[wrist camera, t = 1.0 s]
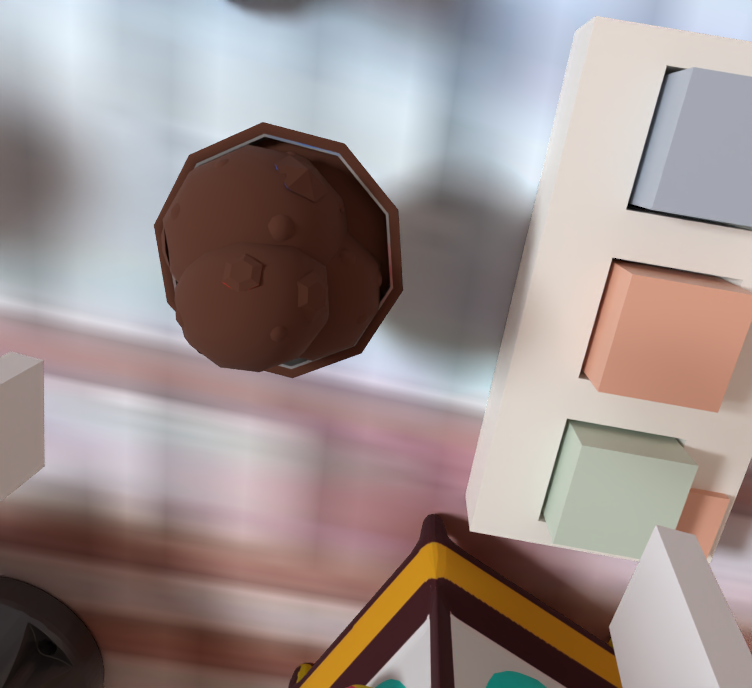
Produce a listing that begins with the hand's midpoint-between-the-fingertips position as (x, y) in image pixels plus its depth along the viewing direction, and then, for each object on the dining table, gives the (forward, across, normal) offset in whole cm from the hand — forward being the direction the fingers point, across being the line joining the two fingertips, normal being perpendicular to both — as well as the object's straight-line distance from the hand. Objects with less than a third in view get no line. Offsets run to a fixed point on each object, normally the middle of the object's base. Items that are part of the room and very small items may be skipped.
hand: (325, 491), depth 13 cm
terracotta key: (+24, -12, +1) cm, 27 cm away
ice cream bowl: (+24, +7, 0) cm, 25 cm away
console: (+26, -12, +1) cm, 28 cm away
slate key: (+24, -12, -8) cm, 28 cm away
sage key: (+23, -13, +10) cm, 28 cm away
